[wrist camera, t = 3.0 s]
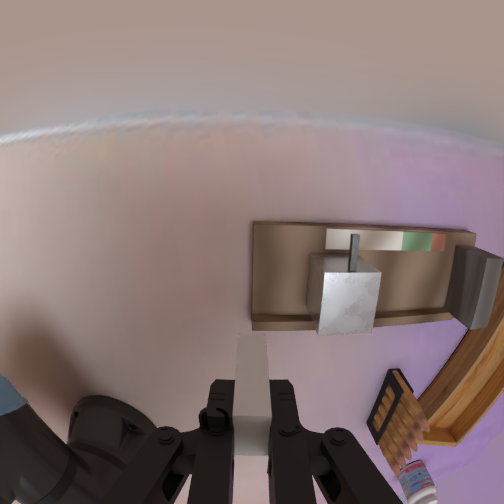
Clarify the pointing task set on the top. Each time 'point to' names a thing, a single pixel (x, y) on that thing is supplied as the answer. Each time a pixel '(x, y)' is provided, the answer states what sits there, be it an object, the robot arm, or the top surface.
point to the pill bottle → (417, 484)
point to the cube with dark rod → (342, 292)
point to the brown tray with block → (386, 261)
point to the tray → (467, 381)
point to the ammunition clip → (397, 420)
